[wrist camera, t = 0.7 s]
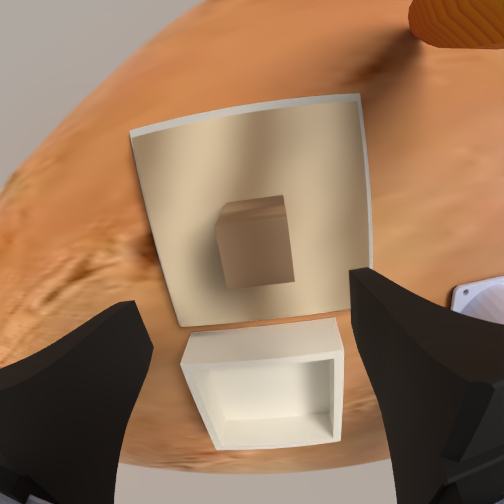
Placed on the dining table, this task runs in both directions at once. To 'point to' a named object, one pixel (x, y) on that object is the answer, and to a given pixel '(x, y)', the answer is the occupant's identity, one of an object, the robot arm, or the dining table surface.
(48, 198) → the dining table surface
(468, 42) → the carrot
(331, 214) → the oak lid
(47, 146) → the dining table surface
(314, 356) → the cream dish
